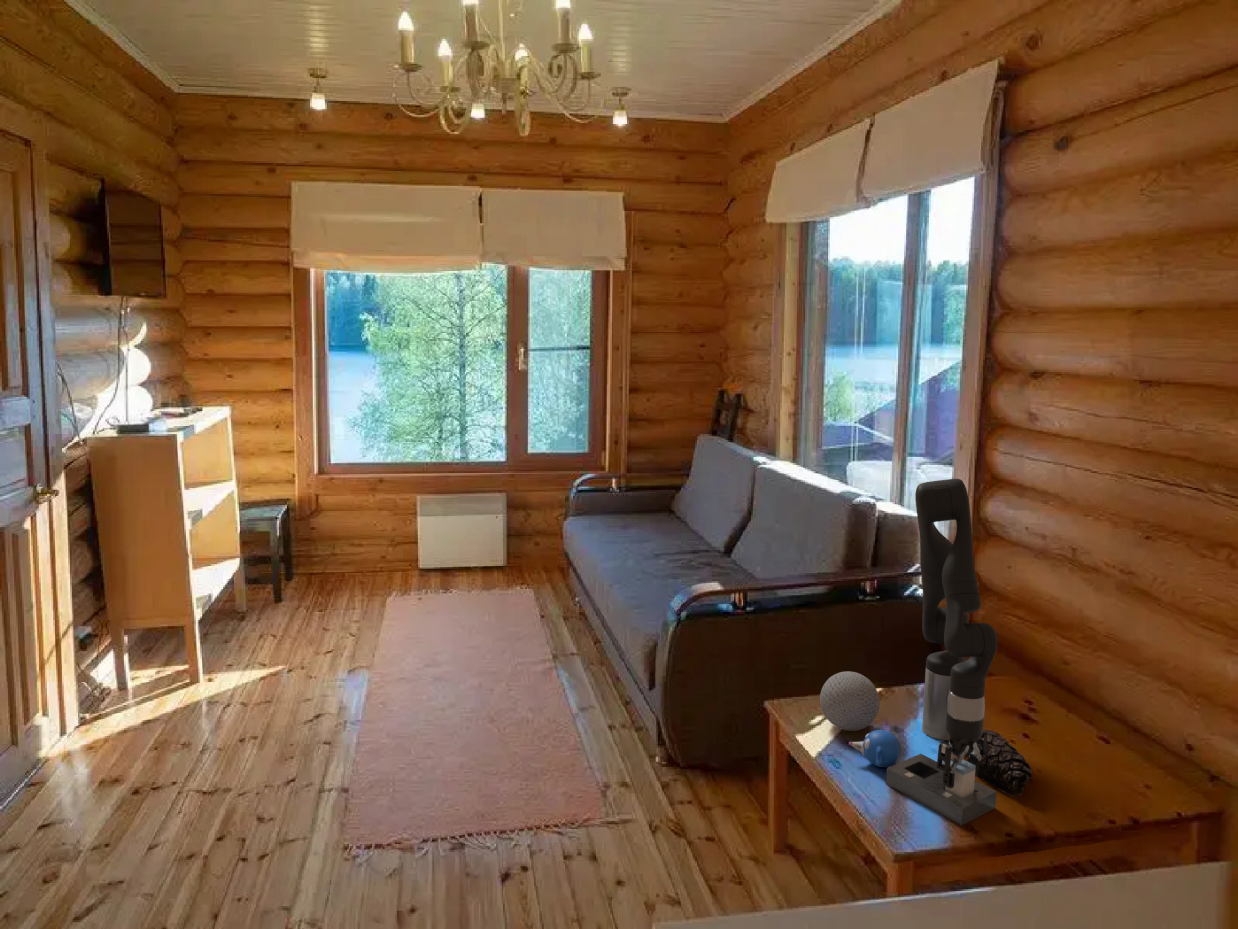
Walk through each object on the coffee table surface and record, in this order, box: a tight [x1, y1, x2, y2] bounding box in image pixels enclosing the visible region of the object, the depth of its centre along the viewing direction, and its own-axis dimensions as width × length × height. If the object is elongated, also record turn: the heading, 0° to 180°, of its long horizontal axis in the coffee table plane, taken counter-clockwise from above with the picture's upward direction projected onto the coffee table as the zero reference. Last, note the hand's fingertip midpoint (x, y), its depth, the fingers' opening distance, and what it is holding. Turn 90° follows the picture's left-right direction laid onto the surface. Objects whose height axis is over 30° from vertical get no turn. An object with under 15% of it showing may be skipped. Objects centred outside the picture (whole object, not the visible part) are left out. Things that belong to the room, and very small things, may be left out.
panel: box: [885, 753, 998, 827], centre depth 200 cm, size 12×20×4 cm, turn 34°
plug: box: [945, 759, 976, 799], centre depth 195 cm, size 4×4×11 cm
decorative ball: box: [819, 671, 881, 732], centre depth 231 cm, size 15×15×15 cm
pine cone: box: [967, 729, 1033, 799], centre depth 206 cm, size 10×18×10 cm, turn 24°
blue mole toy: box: [848, 729, 901, 768], centre depth 214 cm, size 12×12×8 cm
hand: (960, 780), depth 195 cm, fingers open, 8 cm apart
